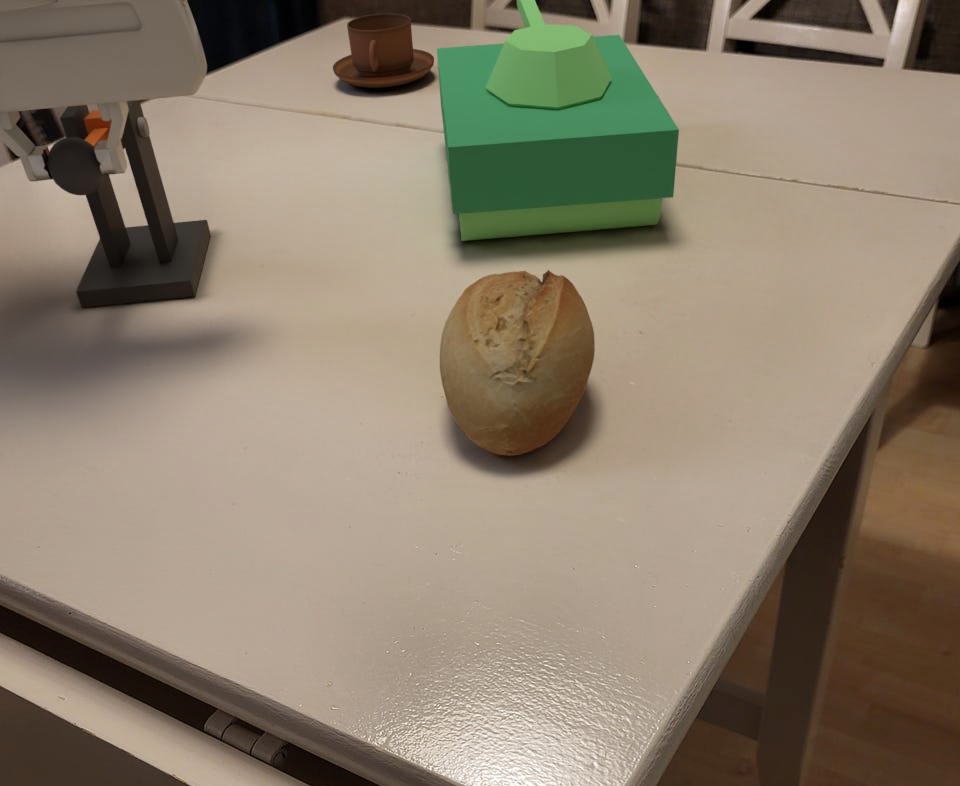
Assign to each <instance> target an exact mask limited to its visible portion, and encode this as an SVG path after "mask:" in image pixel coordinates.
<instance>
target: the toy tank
mask: <svg viewBox="0 0 960 786" xmlns="http://www.w3.org/2000/svg"><path fill="white" fill-rule="evenodd" d="M516 7H517V10H518V13H519V16H520V18H521V21H522V23H523V26H524V27H523V28H518V29H517V28H516V29H514V30H512V32H511V34H509V36H508V37H507V38H506V39H505V41H504V42H503V43H491V44H489V43H488V44H478V45H464V46H463V45H462V46H450V47H437V48H436V55H437V56H436V57H437V70H438V71H437V72H438V83H439V84H438V85H439V95H440V96H439V97H440V98H439V100H440V109H441V110H440V111H441V118H442V120H441V121H442V127H443V128H442V129H443V136H444V146H445V156H446V163H447V173H448V183H449V191H450V200H451V209H452V215H458V220H459V221H458V222H459V230H460V238H461V242H468V241H481V240H490V239H491V240H492V239H503V238H514V237H515V238H516V237H526V236H528V237H529V236H538V235H552V234H561V233H562V234H564V233H575V232H586V231H597V230H611V229H622V228H631V227H632V228H633V227H635V228H636V227H643V226H656V225H658V224H659V221H660V219H661V213H662V203H663V199H666V198H667V199H671V198H674V192H675V181H676V169H677V158H678V145H679V133H680V129H679V127H678V126H677V124H676V123H675V120H673V118H672V117H671V114H670V113H669V111H668V110H667V108H666V107H665V105H664V104H663V102H662V100H661V98H660V97H659V95H658V93H657V92H656V91H655V89H654V88H653V86H652V84H651V83H650V81H649V80H648V78H647V76H646V75H645V74H644V72H643V70H642V69H641V67H640V65H639V64H638V62H637V60H636V59H635V57H634V55H633V54H632V52H631V51H630V49H629V48H628V46H627V44H626V42H625V41H624V40H623V38H622V36H621V35H620V34H612V35H598V36H597V35H596V36H593V34H592V33H590V32H589V31H587V30H585V29H582V28H580V27H578V26H577V25H569V24H550V23H549V24H548V23H545V20H544V18H543V16H542V13H541V11H540V9H539V6H538V4H537V2H536V0H516Z"/></svg>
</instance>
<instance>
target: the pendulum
mask: <svg viewBox="0 0 960 786" xmlns="http://www.w3.org/2000/svg"><path fill="white" fill-rule="evenodd" d="M84 122H85V126H86V129H87V133H88V136H87V138H86V139H85V140H83V139H80V138H75V137H68V138H66V137H64V138H61V139H58V141H56V142H55V143H53V145H52V146H51V148H50V149H49V155H48V169H49V172H50V175H51V177H52V179H51V180H53V182H54V183H55V184H56V185H57V186H58V187H59V188H60V189H61V190H62V191H65V192H66V193H67V194H71V195H75V196H86V195H87V194H90V193H92V192H94V191H95V190H97V189H98V188H99V187H100V185H101V184H102V182H103V179H104V175H103V174H102V173H101V171H100V168H99V166H100V162H99V161H98V160H97V158H96V155H95V152H94V149H95V147H96V146H97V143H98V142H99V141H103V140H108V135H109V131H110V126H111V119H110V121H103V120H102V118H101V115H100V112H99V109H97V110H96V109H95V110H91V111H89V114H88V115H87V116H86V117H85V118H84ZM121 144H122V147H123V150H125V146H124V143H123V140H122V139H121Z"/></svg>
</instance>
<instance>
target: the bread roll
mask: <svg viewBox="0 0 960 786" xmlns="http://www.w3.org/2000/svg"><path fill="white" fill-rule="evenodd" d="M586 305H587V304H585V301H584V300H583V297H582V296H581V294H580V293H579V291H578V290H577V288H576V286H575V285H574V283H573V282H572V281H571V280H570V279H569V278H567V277H565V275H557V274H555V273H553V272H552V271H550V269H547V270H546V272H544V273H543V274H542V281H541V279H540V278H539V277H538V276H536V275H535V274H531V273H530V272H528V271H526V270H520V271H509V272H508V271H507V272H502V273H493V274H488V275H486V276H482V277H481V278H479V279H477V280H476V281H475V282H473V283H471V284H470V285H469V286H467V287H466V288H465V289H464V290H463V292H462V294H461V295H460V296H459V298H458V299H457V300H456V302H455V304H454V305H453V307H452V309H451V310H450V312H449V315H448V316H447V319H446V320H445V323H444V326H443V330H442V334H441V338H440V346H439V347H440V348H439V373H440V379H441V385H442V388H443V392H444V396H445V399H446V404H447V407H448V409H449V412H450V413H451V415H452V417H453V419H454V421H455V423H456V424H457V426H458V427H459V429H460V430H461V431H462V433H463V434H464V435H465V436H466V437H467V438H468V439H469V440H470V441H471V442H472V443H473V444H474V445H476V446H477V447H478V448H481V449H484V450H485V451H487V452H488V453H491V454H494V455H497V456H507V457H508V456H520V455H523V454H526V453H529V452H532V451H534V450H537V449H539V448H541V447H543V446H545V445H546V444H548V443H549V442H551V441H552V440H554V438H555V437H556V436H557V435H558V434H559V433H560V432H561V430H563V428H564V427H565V426H566V424H567V423H568V422H569V420H570V418H571V417H572V416H573V414H574V412H575V411H576V409H577V407H578V405H579V403H580V401H581V400H582V397H583V395H584V393H585V389H586V386H587V383H588V380H589V378H590V375H591V372H592V369H593V364H594V359H595V351H596V349H595V345H596V344H595V342H596V341H595V332H594V326H593V322H592V320H591V316H590V314H589V311H588V308H587V306H586Z"/></svg>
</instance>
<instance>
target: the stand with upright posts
mask: <svg viewBox="0 0 960 786" xmlns="http://www.w3.org/2000/svg"><path fill="white" fill-rule="evenodd" d="M127 105H128V109H129V111H128V115H127V119H126V123H125V127H124V132H123V136H122V140H123V143H124V146H125V148H124V150H125V153H126V156H127V159H128V164H129V166H130V169H131V173H132V177H133V179H134V183H135V187H136V190H137V193H138V196H139V200H140V204H141V207H142V210H143V213H144V217H145V220H146V224H147V225H137V226H126V225H125V221H124V219H123V215H122V212H121V209H120V206H119V203H118V199H117V196H116V192H115V190H114V187H113V182H112V179H111V176H110V174H109V175H104V179H103V182H102V184H101V185H100V187H99V188H98V189H97V190H95V191H94V192H92V193H90V194H87V195H85V197H86V198H85V199H86V201H87V203H88V206H89V209H90V212H91V215H92V219H93V221H94V224H95V227H96V230H97V234H98V236H99V240H98V242H97V244H96V246H95V248H94V250H93V252H92V255H91V257H90V258H89V261H88V264H87V266H86V268H85V270H84V273H83V275H82V277H81V278H80V282H79V284H78V286H77V288H76V290H75V293H76V297H77V299H78V301H79V304H80V307H81V308H92V307H102V306H110V305H111V306H112V305H122V304H131V303H141V302H151V301H160V300H161V301H162V300H173V299H182V298H193V297H196V292H197V289H198V285H199V282H200V277H201V273H202V269H203V266H204V262H205V258H206V254H207V251H208V246H209V243H210V239H211V231H210V227H209V221H208V220H207V219H199V220H188V221H178V222H174V218H173V214H172V212H171V208H170V205H169V201H168V198H167V194H166V191H165V188H164V184H163V180H162V176H161V172H160V169H159V165H158V162H157V158H156V155H155V151H154V147H153V144H152V140H151V135H150V133H151V132H150V127H149V123H148V120H147V118H146V117H145V116H144V111H143V108H142V105H141V100H135V101H127ZM89 113H90V110H89V106H88V105H79V106H68V107H65V110H63V113H62V114H61V116H60V117H59V120H60V123H61V126H62V129H63V132H64V136H65V137H64V138H68V137H75V138H80V139H83V140H85V139H86V138H87V136H88V133H87V129H86V126H85V122H84V118H85V117H86V116H87V115H88V114H89Z"/></svg>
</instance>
